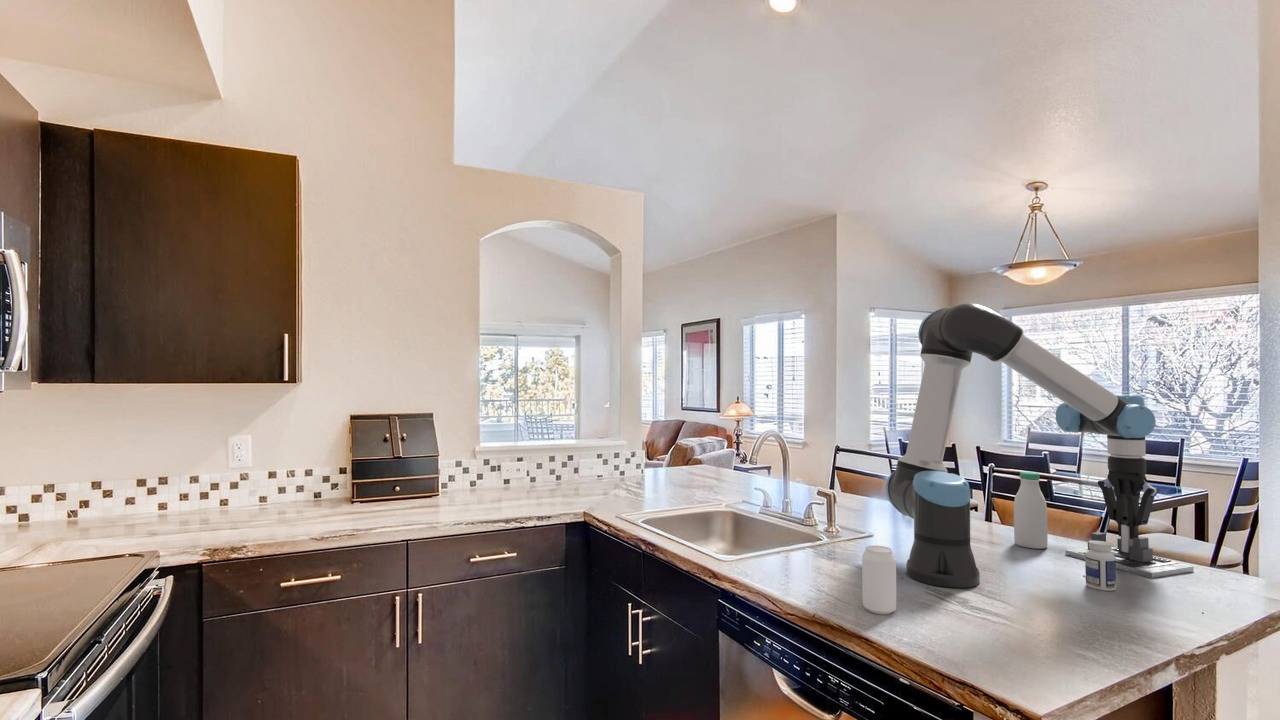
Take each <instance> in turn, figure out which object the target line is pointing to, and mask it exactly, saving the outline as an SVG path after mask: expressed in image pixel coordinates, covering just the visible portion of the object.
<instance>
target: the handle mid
mask: <svg viewBox="0 0 1280 720" xmlns="http://www.w3.org/2000/svg"><path fill="white" fill-rule="evenodd" d="M1149 544H1150V543H1149V537H1146V536H1139V537H1133V546H1130V547H1129V552H1130V559H1132V560H1136V561H1140V562H1149V561H1153V555H1154V553H1153V549H1154V548H1151V547H1149Z"/></svg>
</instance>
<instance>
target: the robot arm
mask: <svg viewBox="0 0 1280 720" xmlns="http://www.w3.org/2000/svg"><path fill="white" fill-rule="evenodd" d="M917 333H918V340H919V343H920V344H921V350H920V355H919V357H920V358H921V359H922V361H923V362H924V366H923V367H924V368H923V372H922V376H921V382H920V385H919V391H918V394H917V400H916V405H915V410H914V415H913V419H912V423H911V429H910V433H909V438H908V442H907V447H906V453H905V454H904V455H902V456H901V457H899V458H898V460H897V463H896V468H895V470H893V472H892V473H890V475H889V476H888V478H887V480H886V483H885V494H886V497H887V499H888V501H889V503H890V504H891V506H892V507H893V508H895V509H896V510H897V512H899V513H901V514H902V515H904V516H906V517H908V518H909V517H910V518H911V519H912V520H913V543H912V547H911V549H910V553H909V558H908V559H907V561H906V565H905V567H906V569H905V570H906V571H905V572H906V575H907V576H908V577H910V578H911V579H912V580H915V581H918V582H920V583H924V584H928V585H932V586H937V587H943V588H953V589H954V588H955V589H957V588H958V589H960V588H961V589H962V588H963V589H965V588H973V587H977V586H978V585H979V584H981V583H980V582H981V576H980V575H981V573H980V571H979V568H978V567H977V564H976V560H975V557H974V553H973V550H972V546H971V500H972V499H971V498H972V496H971V491H970V484H969V482H968V480H967V479H966V478H964V477H963V476H960V475H958V474H957V473H956V474H955V473H953V472H951V473H949V472H948V469H947V467H946V466H945V465H944V462H943V461H944V457H945V456H944V455H945V452H946V447H947V442H948V437H949V434H950V433H949V432H950V427H951V423H952V419H953V414H954V409H955V405H956V399H957V395H958V390H959V387H960V381H961V376H962V372H963V370H964V369H965V368H967V367H969V366H970V365H971V361H972V357H973V353H975V354H978V355H980V356H983V357H985V358H987V359H988V360H990V361H991V362H994V363H998V362H1002V363H1003V364H1004V365H1005V366H1008V367H1009V368H1011V369H1012V370H1013V371H1015V372H1017V373H1018V374H1020V375H1021V376H1022V377H1024V378H1026V379H1027V380H1029V381H1030V382H1032V383H1034V384H1035V385H1037V386H1038V387H1040V388H1041V389H1043V390H1044V391H1046V392H1047V393H1049V394H1050V395H1051V396H1054V397H1056V398H1057V399H1059V400H1060V401H1062V402H1061V403H1060V404H1059V405H1058V406H1057V408H1056V410H1055V422H1056V424H1057V427H1058V428H1059V429H1060V430H1061V431H1063V432H1069V433H1074V434H1075V433H1076V434H1078V433H1087V434H1088V433H1090V434H1097V435H1105V436H1106V443H1107V444H1106V445H1107V446H1106V448H1107V454H1108V457H1107V470H1108V474H1107V477H1106V478H1105V479H1103V480H1098V481H1097V485H1098V486H1099V489H1101V491H1102V492H1101V493H1102V497H1103V500H1104V503H1105V507H1106V511H1107V515H1108V518H1109V520H1111V521H1114V522H1116V524H1117V535H1118V537H1119V538H1121V539H1122V551H1123V552H1127V553H1130V552H1129V547H1130V546H1133V537H1140V536H1139V527H1140V526H1145V525H1148V523H1149V519H1150V517H1151V511H1152V508H1153V504H1154V499H1155V497H1156V496H1157V495H1158V493H1159V492H1160V490H1159V488H1158V487H1153V486H1152V485H1151V484H1149V482H1148V479H1147V477H1146V473H1147V459H1146V458H1145V457H1144V456H1146V451H1147V450H1146V449H1147V448H1146V437H1147V436H1149V435H1150V434H1151V433H1152V432H1153V431H1154V429H1155V427H1156V417H1155V414H1154V412H1153V411H1152V409H1150V408H1149V407H1147V406H1145V399H1144V397H1143V396H1142V395H1140V394H1116V393H1113V392H1112V391H1110V390H1108V388H1106V387H1104V386H1102V385H1101V384H1099V383H1098V382H1096V381H1094V380H1093V379H1091V378H1090V377H1089V376H1087V375H1086V374H1084V373H1082V372H1081V371H1079V370H1078V369H1076V368H1074V367H1073V366H1071V365H1070V364H1069V363H1067V362H1065V361H1064V360H1063V359H1061V358H1060V357H1058V356H1056V355H1055V354H1053V353H1052V352H1050V351H1048V350H1047V349H1045V348H1044V347H1042V346H1041V345H1040V344H1038V343H1036V342H1035V341H1034V340H1032V339H1030V338H1029V337H1027V336H1026V335H1025V333H1024V329H1023V328H1022V327H1020V326H1019V325H1017V324H1016V323H1014V322H1013V321H1011V320H1009V319H1008V318H1006V317H1005V316H1003V315H1002V314H1000V313H998V312H996V311H994V310H992V308H991V309H990V308H989V307H986V306H983V305H981V304H978V303H970V302H967V303H961V304H957V305H955V306H954V305H953V306H951V307H942V308H940V309H937V310H935V311H932V313H930V314H928V315H927V316H925V318H924V319H923V320H922V322H921V323H920V325H919V328H918V332H917ZM1113 488H1114V489H1113ZM1141 492H1143V494H1142V495H1141ZM1140 498H1141V501H1140Z"/></svg>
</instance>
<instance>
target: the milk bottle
mask: <svg viewBox="0 0 1280 720" xmlns="http://www.w3.org/2000/svg"><path fill="white" fill-rule="evenodd" d="M1040 477H1041V476H1040V473H1039V472H1033V471H1021V472H1020V473H1019V478H1020V479H1019V480H1020V486H1019V488H1018V491H1017V493H1016V494H1015V496H1014V500H1013V501H1014V503H1013V539H1014V544H1015V545H1017V546H1019V547H1023V548H1028V549H1033V550H1034V549H1036V550H1044V549H1046V548H1048V545H1049V544H1048V542H1049V540H1048V539H1049V538H1048V507H1047V502H1046V499H1045V497H1044V494H1043V492H1042V491H1041V487H1040V483H1039V482H1040Z"/></svg>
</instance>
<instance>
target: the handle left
mask: <svg viewBox="0 0 1280 720" xmlns="http://www.w3.org/2000/svg"><path fill="white" fill-rule="evenodd" d="M1090 541H1104V542H1107V533H1104V532H1100V531H1098V532H1091V533H1090ZM1087 547H1088V550H1090V548H1089V541H1087Z"/></svg>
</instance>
